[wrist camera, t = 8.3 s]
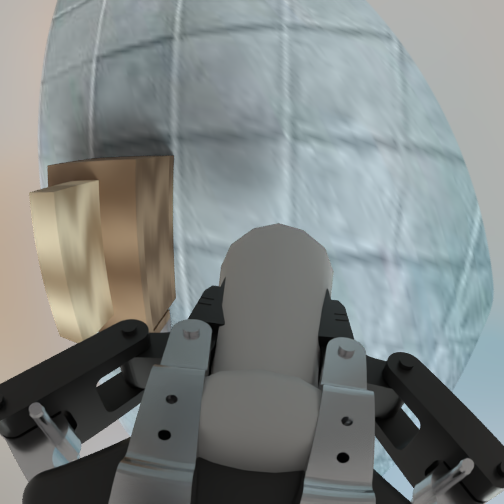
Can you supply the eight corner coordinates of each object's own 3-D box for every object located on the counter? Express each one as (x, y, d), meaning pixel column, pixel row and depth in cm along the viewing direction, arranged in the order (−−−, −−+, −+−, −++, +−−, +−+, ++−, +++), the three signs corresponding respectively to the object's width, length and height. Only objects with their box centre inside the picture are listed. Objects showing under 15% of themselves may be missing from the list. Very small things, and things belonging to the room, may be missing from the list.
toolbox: (92, 158, 25) (54, 164, 19) (173, 155, 24) (142, 158, 18) (103, 283, 30) (74, 307, 25) (175, 298, 29) (153, 329, 24)
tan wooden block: (81, 160, 23) (6, 174, 14) (164, 156, 22) (91, 165, 13) (110, 356, 32) (74, 405, 23) (177, 375, 31) (148, 436, 22)
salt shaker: (256, 196, 15) (137, 366, 3) (345, 242, 15) (439, 452, 3) (216, 280, 17) (115, 470, 5) (296, 318, 17) (289, 522, 5)
